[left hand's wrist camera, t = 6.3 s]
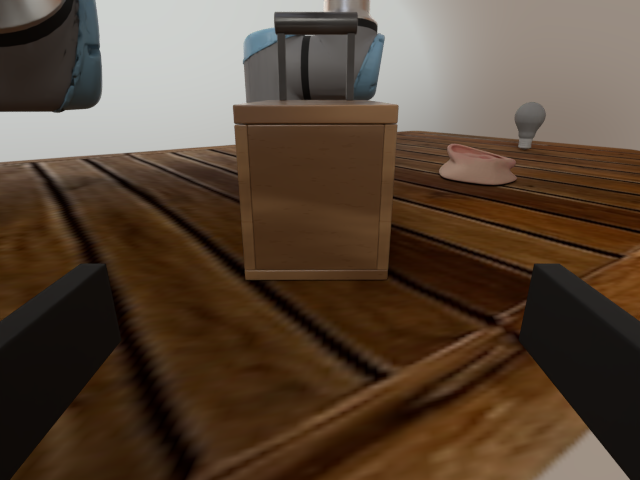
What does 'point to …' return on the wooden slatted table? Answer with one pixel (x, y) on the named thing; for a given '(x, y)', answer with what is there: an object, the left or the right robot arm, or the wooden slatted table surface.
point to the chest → (316, 200)
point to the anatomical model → (477, 166)
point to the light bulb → (529, 122)
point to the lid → (315, 109)
